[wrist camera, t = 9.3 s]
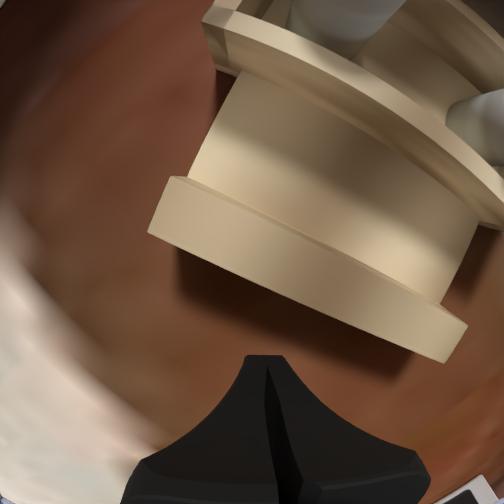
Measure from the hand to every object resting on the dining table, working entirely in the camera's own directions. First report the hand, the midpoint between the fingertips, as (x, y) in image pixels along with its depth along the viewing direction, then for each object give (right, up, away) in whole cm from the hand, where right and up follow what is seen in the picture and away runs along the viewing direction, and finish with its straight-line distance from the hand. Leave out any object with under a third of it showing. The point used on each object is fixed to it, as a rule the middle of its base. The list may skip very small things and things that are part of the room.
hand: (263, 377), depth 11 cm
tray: (+4, +8, -1) cm, 9 cm away
